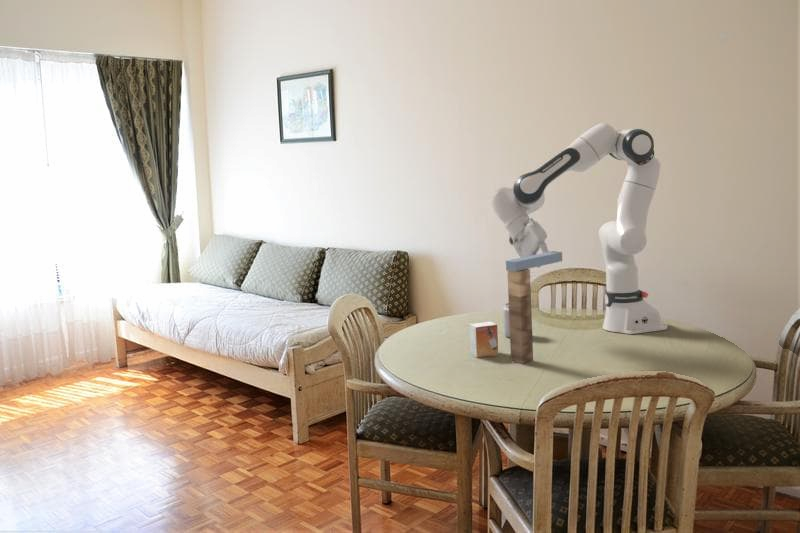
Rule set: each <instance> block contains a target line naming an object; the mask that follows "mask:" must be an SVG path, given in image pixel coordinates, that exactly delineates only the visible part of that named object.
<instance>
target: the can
mask: <svg viewBox="0 0 800 533" xmlns="http://www.w3.org/2000/svg"><path fill="white" fill-rule="evenodd" d="M502 308H503V309H502V317H503V319H502V320H503V321H502V322H503V335H504V336H505V337H506V336H507V338H508V337H510V323H509V302H507V303H504V307H502Z"/></svg>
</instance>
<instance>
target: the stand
mask: <svg viewBox="0 0 800 533" xmlns="http://www.w3.org/2000/svg"><path fill="white" fill-rule="evenodd" d="M506 271H507V291H508V292H507V294H508V303H509V323H510V338H509V344H510V347H509V348H510V362H512V361H513V363H516V364H519V365H524V364H528V363H531V362H533V361H534V348H533V346H534V345H533V321H532V320H533V318H532V315H533V314H532V312H533V311H532V290H531V268H529V269H525V270H520V271H508V270H506ZM530 361H531V362H530ZM527 362H528V363H527Z"/></svg>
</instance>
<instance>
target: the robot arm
mask: <svg viewBox="0 0 800 533" xmlns="http://www.w3.org/2000/svg"><path fill="white" fill-rule="evenodd" d="M654 147H655V142H654V138H653V136H652V134H650V133H649V132H648V131H647V130H645V129H643V128H627V129H623V130H616V129H615V128H614V127H613V126H612V125H611V124H608V123H605V122H601V123H598V124H596V125H594V126H593V127H590V128H589V129H587V130H586V131H584V132H583V133H582V134H580V135H579V137H577V138H576V139H574V141H572V142H571V143H570V144H568V146H567V147H566V148H564V149H563V150H562V151H560V152H559V153H558V154H557V155H555V156H554V157H552V158H550V160H548V161H547V162H545V163H544V164H543V165H542V166H540V167H539V168H537V169H535V170H534V171H531V172H527V173H524V174H522V175H520V176H518V178H516V180H515V181H514V184H513V186H509V187H506V186H503V187H500V188H498V189H497V190H495V192H494V194H493V195H492V197H491V200H490V204H491V206H492V208H493V210H494V212H495V214H496V216H497V217H498V219H499V220H500V221H501V222H502V223H503V224H504V226H505V229H506V231H507V232H508V239H509V240H508V241H509V245H511V247H514V250H515V252H516V253H517V254H518V256H519V258H522V257H527V256H532V255H537V253H538V252H539V250H540V249H541V253H546V252H550V250H549V249H548V247H547V243H546V242H545V241H546V239H547V238H548V234H547V232H546V230H545V229H544V227H542V226H541V224H540V223H539V222H538V221H537V220H534V219H533V218H532V217H530V216H529V214H532V213H534V212H536V211H538V210H540V209H541V208H542V206H543V205H544V203H545V190H546V188H547V187H548V186H549V185H550V184H551V183H552V182H553V181H555V180H556V179H558V178H559V177H561V176H562V175H563V174H564V173H566V172H570V171H574V172H577V173H578V172H579V173H581V172H585V171H587V170H589V169H590V168H592V167H593V166H595V165H596V164H598V162H600V161H601V160H602V159H603V158H605V156H607V155H609V156H611V157H612V158H614V159H615V160H619V161H625V162H626V163H627V173H626V175H625V178H624V180H623V184H622V186H621V188H620V189H621V190H620V191H619V195H618V198H617V201H616V202H617V203H616V204H617V212H616V213H617V214H616V220H610V221H608V222H604V224H602V225H601V226H600V228H599V231H598V238H599V242H600V244H601V245H600V246H601V250H602V254H603V255H602V256H603V260H604V265H605V276H606V277H605V278H606V280H605V284H606V289H605V292H604V293H605V294H604V303H605V314H604V319H603V323H602V329H603V330H605V331H608V332H613V333H622V334H626V335H635V334H643V333H651V332H660V331H665V330H668V324H667V323H666V322H664V321H662V319H661V315H660V312H659V310H658V309H657V308H656V307H655V306H653V305H652V304H650V303H649V302H647V301H646V300H644V298H645V299H647V298H648V296H649V293H648V292H647V291H643V290H640V289H639V269H638V265H637V263H636V261H635V256H634V255H637V254H639V253H641V252H642V251H644V249H645V247H646V246H647V235H646V230H647V218H648V213H649V209H650V206H651V204H652V200H653V197H654V194H655V191H656V188H657V185H658V181H659V178H660V172H661V161H660V160H659V159H658V158H657V157H656V156H655V150H654ZM541 267H542V266H538V267H536V268H538V269H539V268H541Z"/></svg>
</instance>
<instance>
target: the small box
mask: <svg viewBox="0 0 800 533" xmlns="http://www.w3.org/2000/svg"><path fill="white" fill-rule="evenodd" d="M498 337H499V336H498V324H496V323H495V322H493V321H492V320H490V321H485V322H479V323H469V338H470V340H469V341H470V343H469V344H470V354H471V355H472V356H474V357H476V358H482V357H489V356H491V355H492V356H497V354H498V355H499V338H498Z"/></svg>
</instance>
